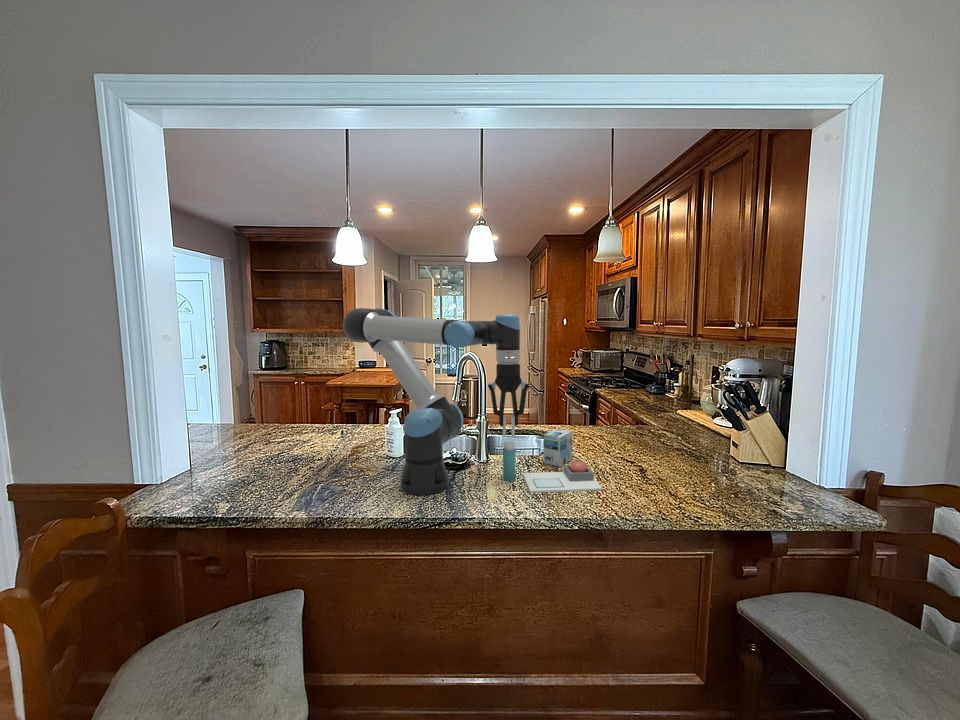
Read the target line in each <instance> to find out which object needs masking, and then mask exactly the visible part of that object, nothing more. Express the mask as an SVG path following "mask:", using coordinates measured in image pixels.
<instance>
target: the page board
mask: <svg viewBox="0 0 960 720" xmlns="http://www.w3.org/2000/svg"><path fill="white" fill-rule="evenodd" d="M522 476H523V479H524V481H525V484H526V486H527V488H528V491H529V493H533V494H534V493H556V492H557V493H561V492H562V493H563V492H586V491H588V492H589V491H591V492H592V491H603V487H602V486H601V485H600V484H599V482H597V480H596V479H595V478H594V471H593V470H591V469H590V467H589V466H588V465H587V464H586V472H577V473H572V472H571V471H570V464H568V465H567V464H564V465H563V471H556V472H555V471H550V472H549V471H548V472H547V471H546V472H545V471H544V472H523V473H522Z"/></svg>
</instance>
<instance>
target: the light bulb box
mask: <svg viewBox="0 0 960 720" xmlns="http://www.w3.org/2000/svg"><path fill="white" fill-rule="evenodd" d="M572 460H573V430H568V429H562V428H561V429H560V428H555V429H553V430H551V431H549V432H547V433H544V434H543V464H546V465H550V466H555V467H559V468H561V467H562V466H564V465H566V464H567V463H568V462H571V461H572Z"/></svg>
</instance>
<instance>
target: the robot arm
mask: <svg viewBox="0 0 960 720" xmlns="http://www.w3.org/2000/svg"><path fill="white" fill-rule="evenodd" d="M520 324H521V323H520V317H519V315H518V314H516V313H515V314H513V313H512V314H510V313H506V314H505V313H503V314H497V315H496V316H495V320H451V319H450V320H448V319H438V318H437V319H436V318H424V317H423V318H421V317H419V318H418V317H404V316H397V315H395V313H393V312H392V311H390V310H387V309H385V308H364V307H363V308H362V307H359V308H358V307H357V308H354V309H351V310H350V311H348V312H347V313H346V315H345V316H344V318H343V319H342V330H343V333H344V335H345V336H346V337H347V338H348V339H349V340H351V341H353V342H355V343H367V344H368V345H369V347H370V348H371V349H372V351H373V352H375V353H379V354H380V355H381V356H382V358H383V359H384V361H385V363H386V364H387V366H388V367H389V368H390V370H391V371H392V373H393V375H395V377H396V379H397V380H398V382H399V383H400V385H401V386H402V388H403V389H404V390H405V392H406V394H407V395H408V397H409V398H410V400H411V401H412V403H413V405H414V406H415V407H416V409H415V410H412V411H410V412H409V413H407V415H406V416H405V417H404V423H403V424H404V425H403V435H404V455H405V456H404V457H405V461H404V467H403V470H402V472H401V473H402V474H401V477H400V480H399V481H400V482H399V483H400V490H401V489H402V490H403V491H402V490H401V491H402V492H404V493H405V492H406V494H408V495H412V496H414V495H415V496H429V495H434V494H438V493H441V492H443V491H444V490H446V489H447V488H448V487H449V486H450V476H449V474H448V471H447V468H446V465H445V461H444V458H443V457H444V456H443V452H444V451H443V450H444V449H443V445H444V444H445V443H447V442H448V441H450V440H452V439H454V438H455V437H456V436H457V435H458V434H459V433H460V432H461V430H463V426H464V415H463V412H462V410H461V409H460V408H459V407H458V406H457V404H456V405H455V404H453V403H450V402H449V401H448V398H447V397H446V396H445V395H441V394H439V393H437V390H436V389H435V388H434V387H433V385H432V383H431V382H430V380H429V379H428V377H427V375H425V373H424V372H423V371H422V368H420V366H419V364H418V363H417V361H416V360H415V359H414V357H413V356H412V354H411V352H410V351H409V350H408V348H407V347H406V345H405V344H404V342H405V343H407V342H408V343H418V344H430V345H442V346H451V347H453V348H459V349H460V348H465V347H469V346H477V345H495V362H497V363H496V367H495V368H496V369H495V370H496V372H495V373H496V375H495V376H496V377H495V380H494V381H493V382H491V383H488V384H487V387H488V389H489V391H490V398H491V403H492V404H491V406H492V411H493V415H496V416H498V424H499V426H500V427H502V437H503V438H507V437H506V436H507V423H506V422H507V420H506V419H507V416H506V415H505V414H504V412H505V403H506V396H507V393H510V394H511V395H510V396H511V402H512V411H513V412H512V413H513V414H511V415H510V417H511V419H510V422H511V424H510V426H511V428H510V430H511V431H510V432H511V433H510V434H511V437H512V438H513V437H514V438H515V437H516V436H515V435H516V427H517V426H518V424H519V416H520V415H523V414H524V412H525V405H526V396H527V391H528V389H529V387H530V385H529V383H527V382H524V381H523V380H522V378H521V364H520V362H521V344H520V343H521V341H520V340H521V326H520ZM496 386H497V387H498V389H499V390H500V400H499V407H498V404H497V398H496V392H495V390H496ZM519 387H520V388H521V392H520V401H519V407H518V401H517V390H518V388H519ZM498 409H499V410H498Z"/></svg>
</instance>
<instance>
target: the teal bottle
mask: <svg viewBox="0 0 960 720" xmlns="http://www.w3.org/2000/svg"><path fill="white" fill-rule="evenodd" d="M502 480H503V481H505V482H514V481H515V480H516V448H515V442H514V441H504V442H503V448H502Z"/></svg>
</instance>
